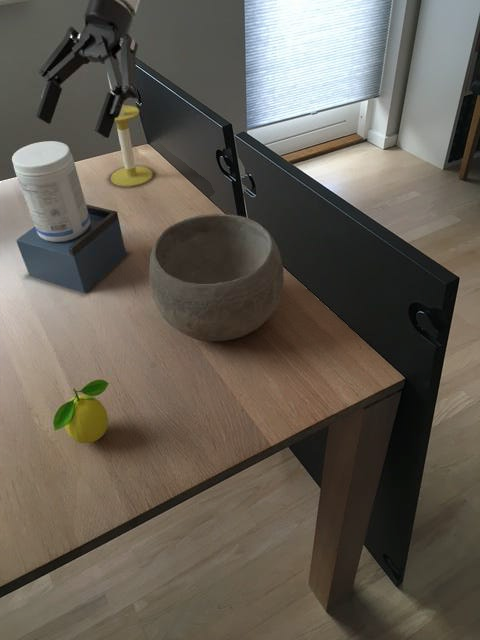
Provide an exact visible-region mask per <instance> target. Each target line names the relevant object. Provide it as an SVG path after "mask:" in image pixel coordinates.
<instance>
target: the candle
mask: <svg viewBox="0 0 480 640" xmlns="http://www.w3.org/2000/svg"><path fill="white" fill-rule="evenodd" d="M106 73H107V72H106ZM107 75H108V73H107ZM107 79H108V85H109V90H110V89H111V90H112V87H111V83H110V80H109V77H108V76H107ZM111 90H110V93H112V94H113V95H114V93H113V92H112V91H111ZM139 114H140V109H139V107H136V106H133V105H128V104H127V105H125V104H123V106H122V108H121V111H120V114H119V116H118V118H115V120H114V123H115V124H116V130H117V135H118V140H119V146H120V150H121V154H122V160H123V166H124V167H121V168H119V169H117V170H115V172H113V173H112V174H111V176H110V180H111V182H112V184H113V185H116V186H118V187H123V188H124V187H125V188H129V187H130V188H131V187H137V186H142V185H144V184H146V183H148V182H149V181H150V180H151V179H152V178H153V176H154V175H153V174H154V173H153V171H152V170H151V169H150V168H149V167H146V166H141V165H136V162H135V155H134V151H133V146H132V145H133V144H132V140H131V135H130V129H129V122H128V121H129V120H133V119H135V118H136V117H137V116H139Z"/></svg>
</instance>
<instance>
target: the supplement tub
mask: <svg viewBox="0 0 480 640" xmlns="http://www.w3.org/2000/svg"><path fill="white" fill-rule="evenodd" d="M11 161H12V165H13V170H14V173H15V175H16V178H17V181H18V184H19V187H20V189H21V192H22V195H23V197H24V201H25V203H26V206H27V209H28V211H29V214H30V217H31V219H32V222H33V225H34V227H35V228H36V230H37V233H38V235H39V236H40V237H41V238H43V239H44V240H47V241H51V242H64V241H69V240H72V239H75V238H77V237H79V236H81V235H82V234H83V233H84V232H85V231H86V230H87V229H88V228H89V226H90V217H89V214H88V210H87V206H86V204H87V202H86V200H85V196H84V193H83V188H82V186H81V182H80V178H79V175H78V174H79V173H78V171H77V166H76V163H75V160H74V158H73V154H72V152H71V149H70V147H69V146H68V145H67V144H66V143H64V142H61V141H55V140H53V141H52V140H50V141H49V140H46V141H38V142H34V143H31V144H28V145H25V146H23V147H21V148H19V149H18V150H16V151H15V152H14V153H13V154H12V157H11Z"/></svg>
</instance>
